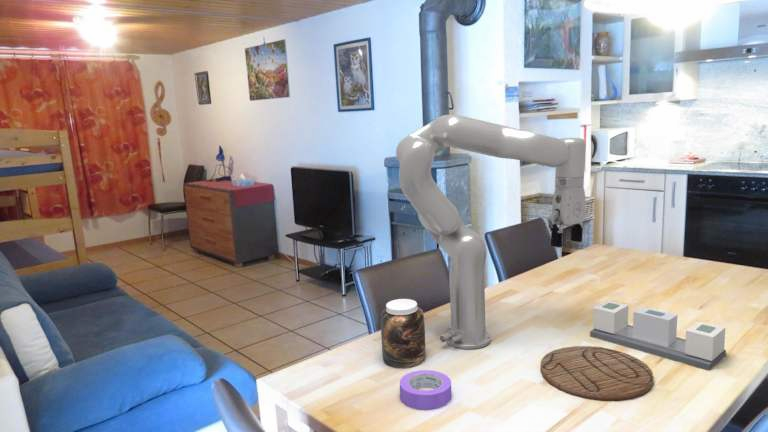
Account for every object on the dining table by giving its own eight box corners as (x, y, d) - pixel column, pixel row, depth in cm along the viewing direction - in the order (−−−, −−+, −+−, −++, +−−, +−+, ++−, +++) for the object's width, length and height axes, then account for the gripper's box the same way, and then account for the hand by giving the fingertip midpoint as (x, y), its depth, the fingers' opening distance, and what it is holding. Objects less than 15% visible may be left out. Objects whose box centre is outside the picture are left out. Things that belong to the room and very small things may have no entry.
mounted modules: (711, 361, 129) (713, 336, 128) (592, 328, 151) (593, 307, 150) (724, 350, 134) (725, 326, 133) (607, 320, 156) (607, 299, 155)
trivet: (582, 412, 114) (583, 404, 114) (521, 362, 138) (520, 355, 138) (679, 389, 121) (679, 382, 121) (604, 346, 145) (604, 339, 144)
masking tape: (447, 382, 129) (447, 368, 129) (455, 408, 118) (455, 392, 117) (398, 386, 129) (397, 371, 128) (402, 412, 118) (401, 396, 117)
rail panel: (709, 370, 128) (709, 363, 128) (590, 336, 151) (590, 329, 150) (725, 355, 135) (726, 348, 135) (609, 324, 158) (609, 318, 157)
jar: (376, 353, 147) (372, 301, 144) (415, 345, 151) (413, 294, 148) (391, 372, 136) (388, 315, 133) (433, 362, 140) (431, 307, 137)
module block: (668, 346, 138) (669, 319, 136) (632, 336, 144) (633, 311, 143) (676, 340, 141) (677, 314, 139) (641, 331, 147) (642, 306, 146)
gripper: (563, 187, 141) (560, 251, 144) (598, 181, 152) (595, 241, 155) (538, 184, 147) (536, 246, 150) (574, 179, 157) (572, 237, 160)
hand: (566, 243), depth 152 cm, fingers open, 9 cm apart
